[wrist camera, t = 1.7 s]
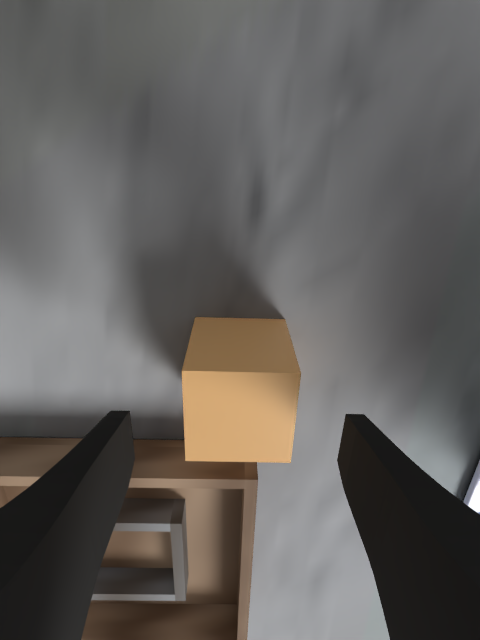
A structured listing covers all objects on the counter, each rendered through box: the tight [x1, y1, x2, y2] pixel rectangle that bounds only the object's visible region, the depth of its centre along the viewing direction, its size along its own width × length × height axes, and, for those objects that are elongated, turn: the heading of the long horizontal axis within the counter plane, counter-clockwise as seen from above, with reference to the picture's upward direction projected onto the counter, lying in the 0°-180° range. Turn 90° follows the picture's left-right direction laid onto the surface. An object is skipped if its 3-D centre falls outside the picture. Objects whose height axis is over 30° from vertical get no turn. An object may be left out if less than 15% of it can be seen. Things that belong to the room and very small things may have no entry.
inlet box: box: [0, 437, 258, 640], centre depth 21 cm, size 14×14×2 cm
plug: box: [182, 317, 301, 463], centre depth 15 cm, size 4×4×4 cm
